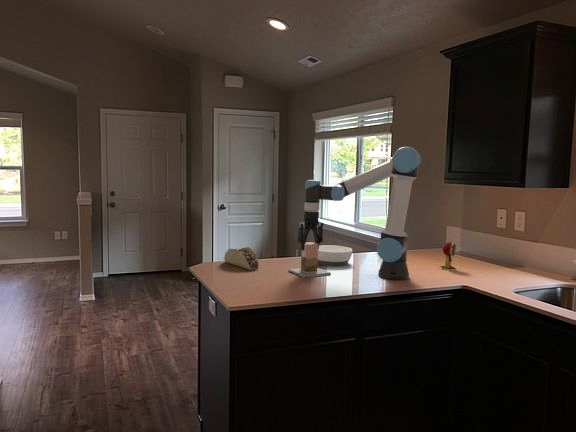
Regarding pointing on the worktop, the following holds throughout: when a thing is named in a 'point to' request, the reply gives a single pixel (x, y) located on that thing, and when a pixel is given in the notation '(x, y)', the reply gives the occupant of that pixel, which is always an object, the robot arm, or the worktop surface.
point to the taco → (242, 258)
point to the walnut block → (309, 264)
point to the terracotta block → (311, 250)
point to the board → (309, 274)
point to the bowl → (334, 255)
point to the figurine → (448, 255)
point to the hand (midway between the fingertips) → (309, 256)
